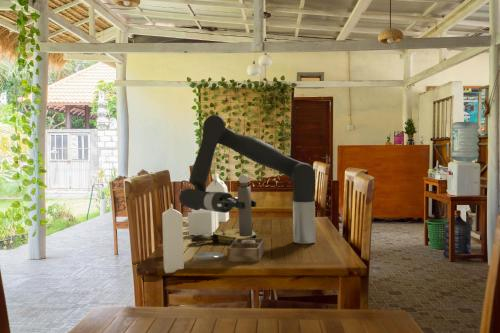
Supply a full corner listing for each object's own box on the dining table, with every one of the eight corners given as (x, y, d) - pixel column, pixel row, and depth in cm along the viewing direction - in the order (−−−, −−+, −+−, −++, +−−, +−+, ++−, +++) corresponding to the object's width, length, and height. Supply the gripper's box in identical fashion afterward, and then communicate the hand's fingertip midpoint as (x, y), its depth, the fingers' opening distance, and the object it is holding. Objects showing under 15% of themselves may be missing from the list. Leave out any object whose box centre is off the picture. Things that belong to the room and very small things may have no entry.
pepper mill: (253, 233, 165) (250, 173, 164) (251, 236, 160) (249, 174, 160) (240, 234, 166) (238, 173, 165) (238, 236, 161) (235, 174, 160)
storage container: (212, 235, 214) (211, 212, 214) (188, 236, 215) (187, 212, 214) (218, 226, 239) (218, 205, 239) (197, 227, 240) (197, 206, 239)
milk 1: (165, 273, 149) (163, 205, 148) (163, 268, 155) (161, 203, 154) (184, 271, 151) (182, 204, 150) (181, 267, 157) (179, 202, 156)
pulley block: (189, 226, 202) (257, 223, 207) (190, 239, 203) (256, 235, 208) (191, 237, 188) (263, 234, 193) (191, 251, 189) (263, 247, 194)
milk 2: (209, 218, 266) (208, 173, 265) (229, 218, 265) (228, 173, 264) (205, 222, 254) (204, 175, 253) (225, 222, 253) (224, 174, 252)
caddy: (264, 252, 176) (264, 238, 176) (259, 264, 158) (258, 248, 158) (236, 252, 177) (236, 238, 177) (227, 264, 160) (227, 248, 159)
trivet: (226, 255, 173) (226, 252, 173) (220, 262, 162) (220, 259, 162) (198, 254, 175) (198, 252, 175) (190, 261, 164) (190, 259, 164)
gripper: (203, 193, 168) (234, 196, 155) (232, 190, 178) (264, 192, 165) (203, 214, 168) (235, 218, 156) (233, 209, 178) (264, 212, 166)
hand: (250, 204), depth 161 cm, fingers closed on pepper mill, 4 cm apart
